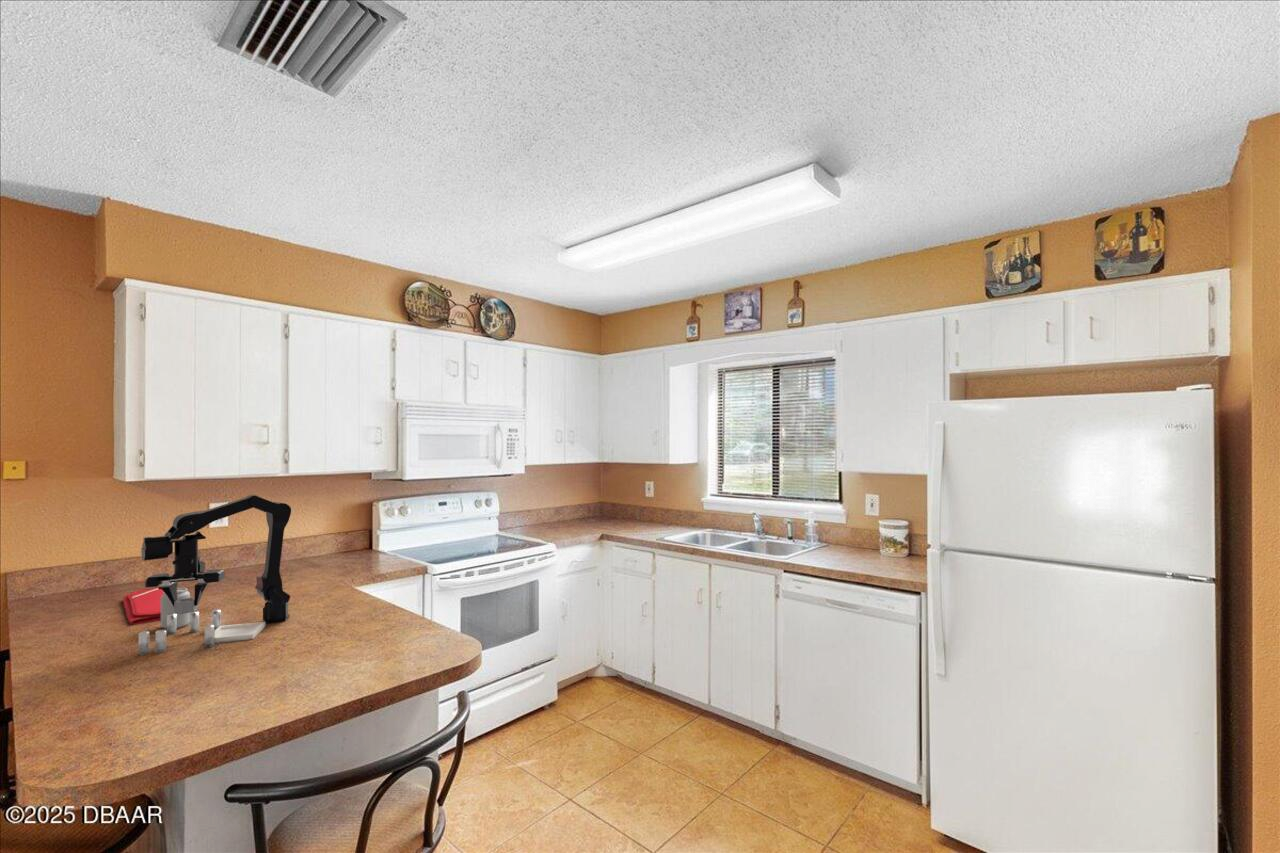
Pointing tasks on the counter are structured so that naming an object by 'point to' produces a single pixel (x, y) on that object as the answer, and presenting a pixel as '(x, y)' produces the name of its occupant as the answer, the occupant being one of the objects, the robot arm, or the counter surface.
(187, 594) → the can
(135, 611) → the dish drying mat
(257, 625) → the tray
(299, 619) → the counter surface
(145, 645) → the spacer posts
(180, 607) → the grey faceted icosahedron
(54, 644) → the counter surface
